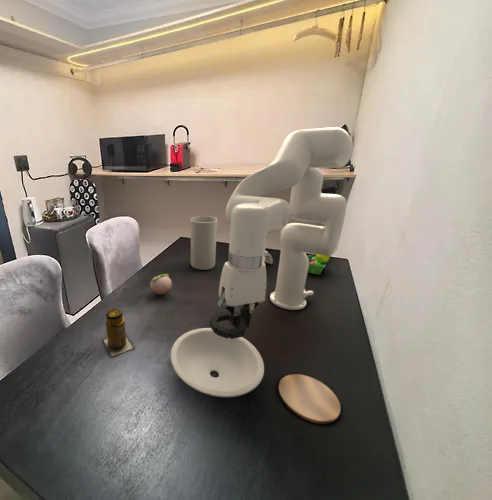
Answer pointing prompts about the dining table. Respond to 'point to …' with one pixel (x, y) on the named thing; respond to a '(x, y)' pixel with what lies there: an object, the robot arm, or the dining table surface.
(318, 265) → the fruit basket
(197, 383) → the white sink bowl
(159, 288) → the decorative fruit
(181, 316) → the dining table surface
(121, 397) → the dining table surface
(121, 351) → the condiment
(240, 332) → the ring
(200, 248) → the cylinder vase
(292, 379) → the coaster
